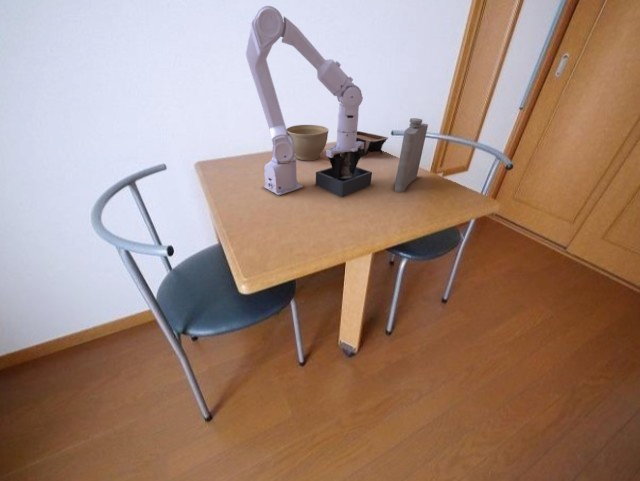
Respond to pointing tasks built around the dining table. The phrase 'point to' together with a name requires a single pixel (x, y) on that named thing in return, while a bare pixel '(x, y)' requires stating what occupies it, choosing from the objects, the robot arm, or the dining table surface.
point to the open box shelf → (343, 188)
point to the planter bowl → (308, 140)
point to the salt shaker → (346, 167)
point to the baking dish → (370, 142)
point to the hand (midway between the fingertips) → (343, 175)
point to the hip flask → (410, 153)
